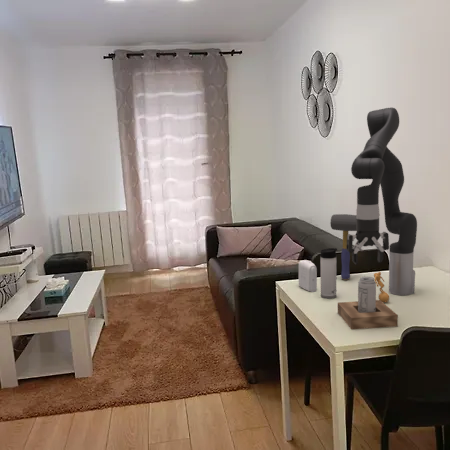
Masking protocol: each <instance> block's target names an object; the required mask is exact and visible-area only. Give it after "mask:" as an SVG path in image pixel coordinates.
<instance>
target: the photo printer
mask: <svg viewBox="0 0 450 450" xmlns="http://www.w3.org/2000/svg"><path fill="white" fill-rule="evenodd" d="M317 273H318V269H317V266H316V265H315V263H313V262H312V261H311V260H307V259H304V260H300V261H299V262H298V286H299V287H300V288H302V289H304V290H306V291H308V292H311V293H313V292H316V291H317V289H318V288H317V287H318V286H317V285H318V277H317V276H318V275H317Z"/></svg>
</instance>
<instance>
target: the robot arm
mask: <svg viewBox="0 0 450 450" xmlns="http://www.w3.org/2000/svg"><path fill="white" fill-rule="evenodd" d="M366 123H367V127H368V129H367V130H368V133H369V135H370V138H369V139H368V140H367V141H366V143H365V145H364V147H363V150H362V151H361V152H360V153H359V154H358V155H357V156H356V158H355V159H354V160H353V161H352V164H351V168H350V171H351V175H352V176H353V177H354V178H355V179H357V180H371V181H372V182H371V183H370V184H368V185H363V186H359V187H358V188H357V190H356V197H357V198H356V210H355V211H356V212H355V213H356V214H355V215H356V230H357V231H355V232H356V233H355V234H350V233H348V235H347V248H346V250H347V251H349V252H350V254H351V261H352V263H354V264H355V265H358V263H359V261H358V260H359V254H358V252H359V251H360V249H362V248H363V247H375V248H376V249H377V262H378V263H382V262H383V260H384V252H385V251H388V250H389V255H388V257H389V258H388V259H389V261H388V263H389V265H388V293H390V294H393V295H396V296H409V295H412V294H415V293H416V292H415V290H416V289H415V287H416V286H415V285H416V284H415V283H416V282H415V281H416V271H415V270H414V253H415V246H416V244H417V232H418V220H417V217H416V215H414V214H413V213H411V212H410V213H409V212H403V211H401V210H400V204H399V197H400V194H401V191H402V190H403V187H404V183H405V175H404V169H403V165H402V163H401V162H402V161H400V159H399V158H398V156H396V155H395V153H393V152H392V151H391V150H390V149H389V148H388V145H389V144H390V141H391V140H392V139H393V138H394V136H395V135H396V132H397V131H398V129H399V126H400V116H399V112H398V110H397V109H396V108H395V107H386V108H382V109H381V108H380V109H375V110H370V111H369V112H368V113H367V116H366ZM380 188H381V189H380ZM380 190H381V195H382V201H383V210H384V213H383V214H384V222H385V227H386V230H387V231H388V232H386V231H383V232H380V216H381V215H380V206H379V201H380V200H379V198H380V197H379V196H380V195H379V193H380ZM389 233H391V234H393V235H398V241H395V242H392V243H390V239H389V236H390V235H389ZM380 238H381V239H382V245H381V243H380V242H379V240H380ZM355 239H356V240H357V241H356V242H355V244H354V246H353V242H354V241H355Z"/></svg>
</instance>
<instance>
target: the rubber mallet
mask: <svg viewBox="0 0 450 450" xmlns="http://www.w3.org/2000/svg"><path fill="white" fill-rule="evenodd" d="M330 217H331V218H330V223H329V224H330V228H331V229H332V230H334V231H341V232H342V249H341V255H340V256H341V257H340V260H341V273H340V278H341V279H342V280H344V281H348V280H349V279H350V278H351V274H350V260H351V257H350V256H351V252H349V251H347V250H346V248H347V235H348V234H349V232H357V230H356V214H343V213H342V214H340V213H338V214H333V215H331V216H330Z"/></svg>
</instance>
